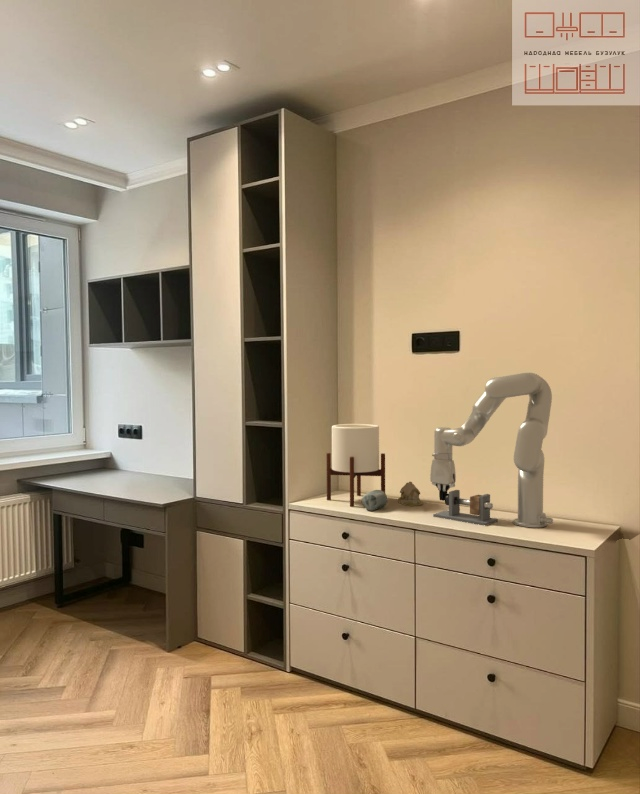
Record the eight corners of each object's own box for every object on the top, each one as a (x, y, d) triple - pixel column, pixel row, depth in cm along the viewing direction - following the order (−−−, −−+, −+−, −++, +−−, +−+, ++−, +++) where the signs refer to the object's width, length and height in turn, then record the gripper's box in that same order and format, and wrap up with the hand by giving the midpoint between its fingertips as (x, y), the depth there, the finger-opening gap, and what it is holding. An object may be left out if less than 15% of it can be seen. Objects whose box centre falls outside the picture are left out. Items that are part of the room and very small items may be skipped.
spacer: (486, 512, 252) (487, 495, 252) (478, 515, 248) (478, 498, 247) (478, 511, 255) (478, 494, 255) (469, 513, 250) (470, 496, 250)
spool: (376, 505, 267) (371, 484, 271) (360, 513, 272) (355, 492, 276) (395, 508, 276) (389, 487, 281) (378, 515, 282) (373, 495, 286)
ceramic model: (394, 500, 294) (393, 479, 294) (415, 499, 297) (415, 478, 297) (405, 506, 281) (405, 484, 281) (428, 505, 284) (428, 483, 283)
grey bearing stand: (497, 521, 251) (497, 494, 251) (485, 525, 244) (485, 497, 243) (446, 512, 268) (446, 487, 267) (433, 516, 260) (433, 490, 260)
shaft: (494, 511, 249) (494, 498, 249) (488, 513, 246) (488, 500, 245) (451, 504, 263) (451, 492, 263) (444, 506, 259) (444, 494, 259)
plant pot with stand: (359, 494, 310) (359, 423, 309) (389, 501, 292) (388, 426, 291) (322, 499, 298) (322, 425, 296) (351, 507, 279) (350, 428, 278)
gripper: (423, 456, 264) (423, 498, 265) (454, 459, 254) (454, 503, 255) (433, 454, 270) (433, 496, 270) (463, 457, 260) (463, 500, 260)
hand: (443, 499), depth 263 cm, fingers closed
